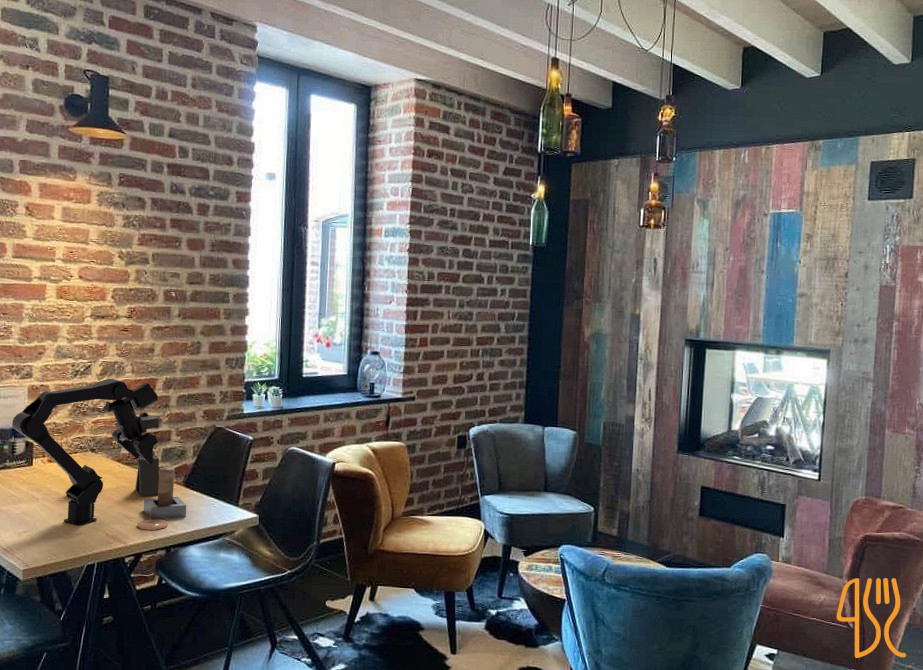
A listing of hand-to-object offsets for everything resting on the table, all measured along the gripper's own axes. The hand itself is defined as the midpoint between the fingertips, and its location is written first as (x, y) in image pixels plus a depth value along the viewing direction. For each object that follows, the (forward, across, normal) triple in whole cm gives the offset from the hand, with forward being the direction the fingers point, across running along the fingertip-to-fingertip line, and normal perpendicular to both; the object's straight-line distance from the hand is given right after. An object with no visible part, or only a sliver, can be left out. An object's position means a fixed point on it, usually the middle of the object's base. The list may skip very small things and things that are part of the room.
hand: (144, 460), depth 244 cm
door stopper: (+19, +19, -3) cm, 27 cm away
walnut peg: (+16, -6, +3) cm, 17 cm away
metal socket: (+16, -6, +3) cm, 17 cm away
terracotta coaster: (+13, -15, +10) cm, 22 cm away
